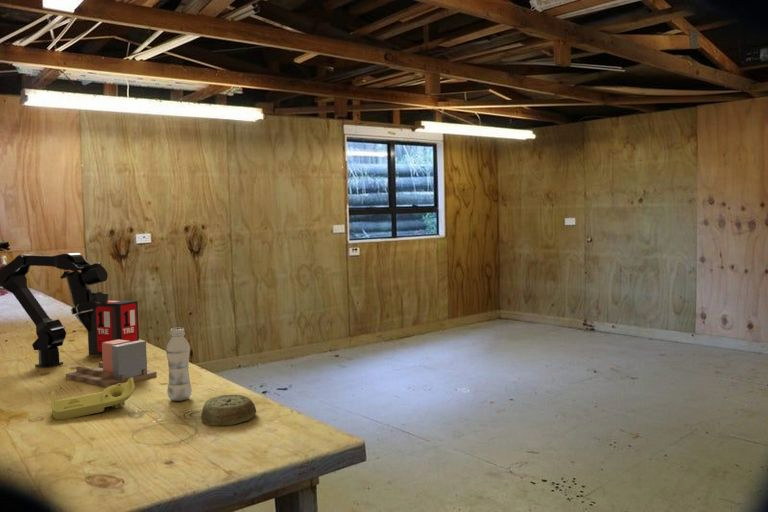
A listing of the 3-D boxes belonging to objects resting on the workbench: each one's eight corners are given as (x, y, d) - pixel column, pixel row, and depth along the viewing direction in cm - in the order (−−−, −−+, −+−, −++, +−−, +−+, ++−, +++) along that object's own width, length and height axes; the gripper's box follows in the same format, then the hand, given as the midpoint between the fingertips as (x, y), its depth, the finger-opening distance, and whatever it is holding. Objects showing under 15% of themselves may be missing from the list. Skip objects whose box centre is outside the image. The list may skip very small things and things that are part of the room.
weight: (227, 431, 142) (226, 410, 142) (188, 422, 150) (188, 402, 149) (267, 415, 154) (266, 396, 154) (229, 407, 161) (229, 389, 161)
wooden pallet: (66, 378, 195) (65, 368, 195) (111, 368, 208) (110, 358, 208) (111, 388, 182) (111, 377, 182) (156, 376, 196) (156, 366, 195)
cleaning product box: (139, 352, 234) (137, 301, 233) (121, 357, 225) (119, 304, 224) (107, 349, 240) (105, 299, 239) (88, 354, 232) (86, 302, 231)
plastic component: (51, 413, 151) (51, 387, 159) (55, 435, 154) (55, 409, 162) (136, 396, 159) (132, 373, 167) (138, 417, 163) (135, 393, 170)
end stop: (113, 379, 186) (111, 345, 186) (141, 372, 195) (140, 340, 194) (119, 380, 185) (117, 346, 184) (147, 373, 193) (146, 340, 193)
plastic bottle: (169, 404, 164) (166, 331, 163) (166, 398, 170) (163, 328, 169) (194, 401, 167) (191, 329, 166) (189, 395, 173) (187, 326, 172)
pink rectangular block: (103, 373, 192) (101, 342, 192) (120, 369, 197) (118, 339, 197) (114, 375, 189) (113, 344, 189) (131, 371, 194) (130, 340, 194)
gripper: (107, 280, 207) (119, 324, 207) (99, 285, 223) (109, 326, 223) (72, 288, 201) (84, 333, 201) (66, 292, 216) (77, 334, 217)
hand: (89, 331), depth 211 cm, fingers closed
